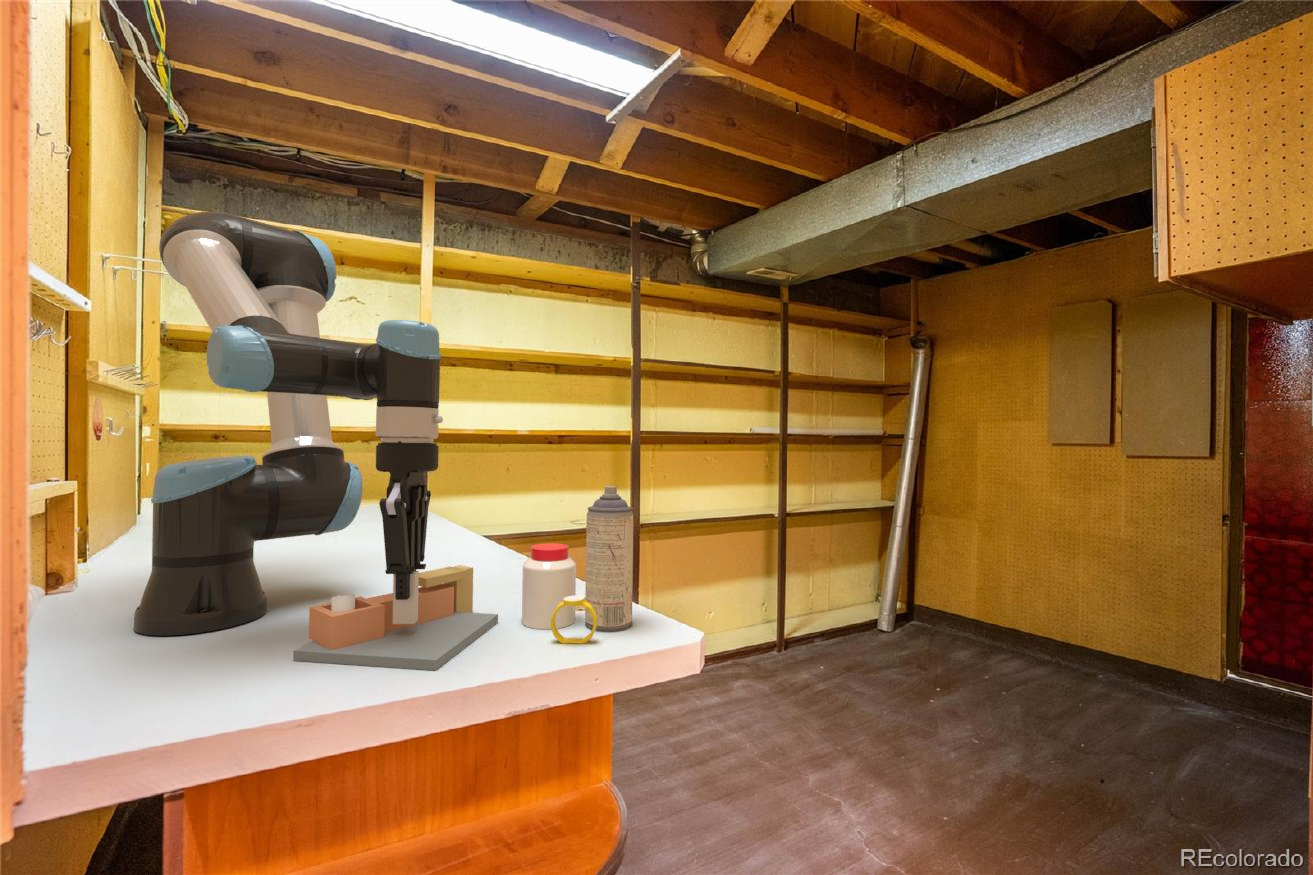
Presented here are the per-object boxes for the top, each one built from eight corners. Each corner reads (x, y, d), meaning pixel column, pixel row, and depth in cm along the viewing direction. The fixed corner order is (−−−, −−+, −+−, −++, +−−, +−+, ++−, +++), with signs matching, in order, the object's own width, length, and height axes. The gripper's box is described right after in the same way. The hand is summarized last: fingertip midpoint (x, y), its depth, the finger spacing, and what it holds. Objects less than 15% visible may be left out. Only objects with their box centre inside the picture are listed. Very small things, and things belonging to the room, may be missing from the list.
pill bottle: (564, 631, 82) (565, 552, 82) (512, 627, 83) (513, 549, 83) (582, 615, 89) (583, 543, 89) (534, 611, 91) (535, 540, 91)
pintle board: (293, 660, 70) (294, 600, 70) (397, 608, 91) (398, 562, 91) (435, 670, 67) (436, 607, 67) (508, 614, 89) (508, 567, 89)
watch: (550, 648, 76) (548, 602, 76) (554, 640, 79) (551, 596, 79) (596, 645, 76) (594, 599, 76) (598, 637, 79) (596, 593, 79)
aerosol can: (641, 624, 85) (643, 487, 85) (606, 635, 80) (608, 489, 80) (610, 614, 90) (612, 484, 90) (575, 624, 85) (577, 486, 85)
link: (331, 650, 70) (332, 616, 70) (308, 638, 74) (309, 606, 74) (459, 616, 84) (460, 588, 84) (434, 608, 88) (435, 581, 88)
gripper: (422, 441, 70) (419, 638, 70) (450, 441, 83) (448, 607, 83) (357, 440, 70) (354, 639, 69) (395, 440, 83) (393, 608, 82)
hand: (405, 621), depth 76 cm, fingers closed
